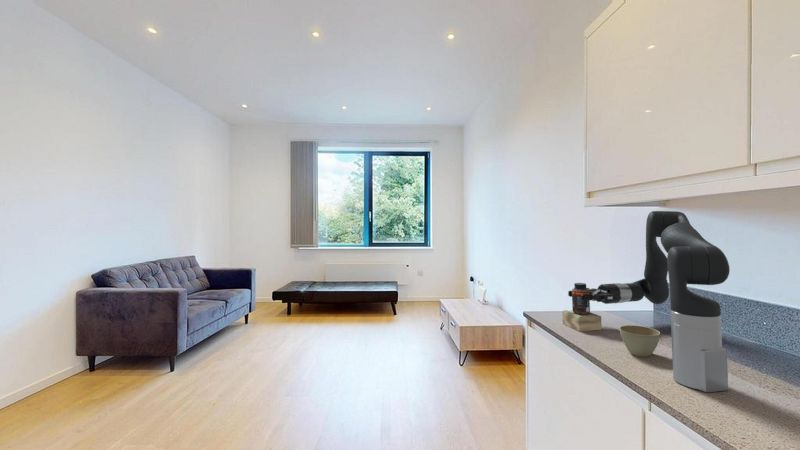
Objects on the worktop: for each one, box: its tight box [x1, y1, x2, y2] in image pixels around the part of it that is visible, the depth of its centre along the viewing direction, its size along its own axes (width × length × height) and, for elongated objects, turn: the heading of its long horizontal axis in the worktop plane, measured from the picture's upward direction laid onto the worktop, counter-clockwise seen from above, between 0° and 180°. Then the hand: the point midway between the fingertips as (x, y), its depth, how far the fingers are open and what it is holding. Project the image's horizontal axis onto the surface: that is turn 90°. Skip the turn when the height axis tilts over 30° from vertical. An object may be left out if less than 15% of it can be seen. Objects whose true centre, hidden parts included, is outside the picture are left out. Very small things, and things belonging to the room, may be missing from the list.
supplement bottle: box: [571, 282, 591, 314], centre depth 129 cm, size 6×6×11 cm
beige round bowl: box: [618, 324, 661, 358], centre depth 101 cm, size 10×10×7 cm
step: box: [561, 309, 603, 332], centre depth 129 cm, size 10×9×5 cm
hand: (575, 295), depth 129 cm, fingers open, 7 cm apart
